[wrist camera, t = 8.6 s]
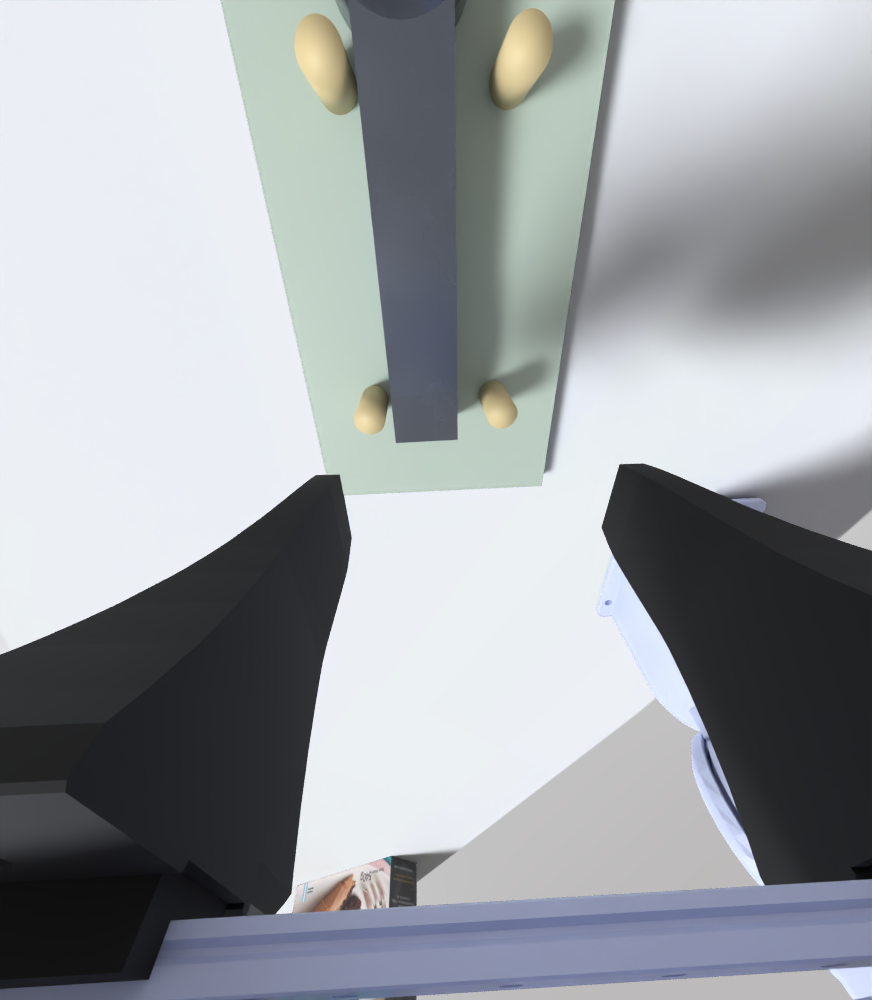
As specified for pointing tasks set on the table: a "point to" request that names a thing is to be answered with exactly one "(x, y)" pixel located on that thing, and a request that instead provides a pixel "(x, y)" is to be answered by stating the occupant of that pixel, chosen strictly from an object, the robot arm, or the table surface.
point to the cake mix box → (362, 891)
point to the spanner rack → (479, 227)
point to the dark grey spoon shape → (412, 199)
